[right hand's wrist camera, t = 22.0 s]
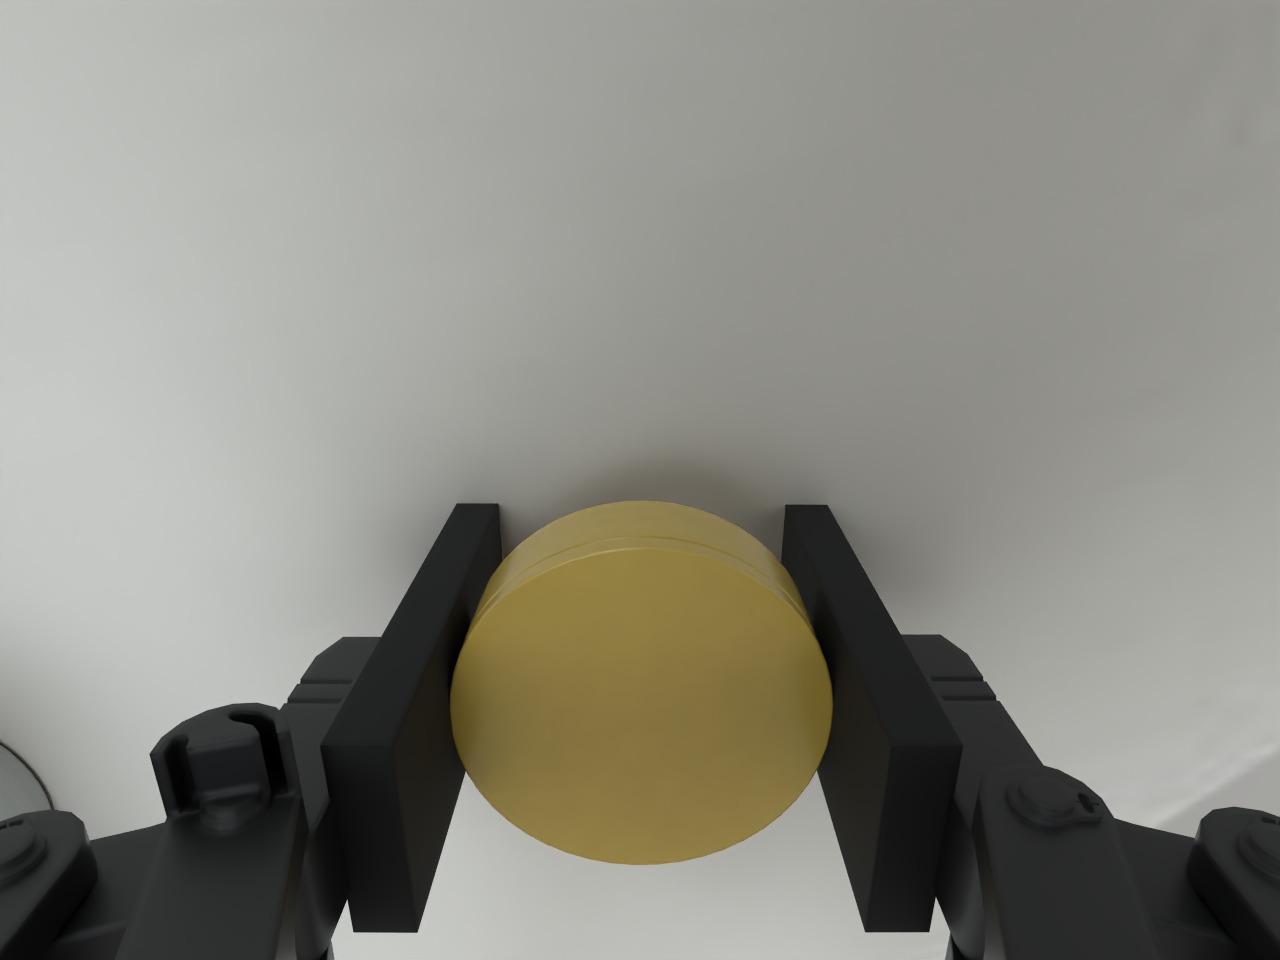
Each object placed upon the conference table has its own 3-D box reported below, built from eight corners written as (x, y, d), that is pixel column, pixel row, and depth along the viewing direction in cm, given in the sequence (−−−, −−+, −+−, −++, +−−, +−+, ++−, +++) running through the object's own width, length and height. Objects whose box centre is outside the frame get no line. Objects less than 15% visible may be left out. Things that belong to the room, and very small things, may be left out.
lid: (830, 504, 11) (859, 555, 10) (790, 792, 13) (810, 871, 12) (465, 491, 11) (437, 540, 10) (477, 783, 13) (456, 860, 12)
